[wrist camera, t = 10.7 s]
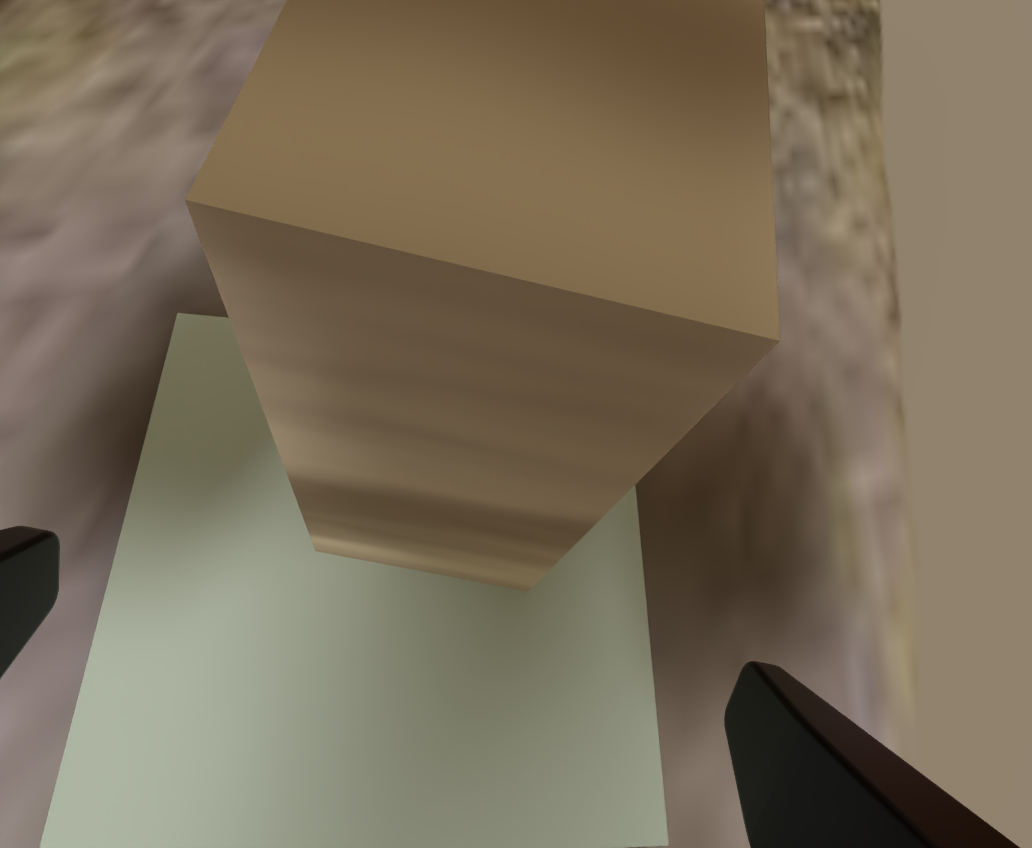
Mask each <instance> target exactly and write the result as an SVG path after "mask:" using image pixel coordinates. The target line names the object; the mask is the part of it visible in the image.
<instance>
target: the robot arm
mask: <svg viewBox="0 0 1032 848" xmlns="http://www.w3.org/2000/svg"><path fill="white" fill-rule="evenodd" d="M59 559H60V543H59V539H58V536H57V535H56V534H55V533H54V532H52V531H47V530H42V529H37V528H31V527H26V526H16V527H11V528H7V529H3V530H0V679H1V677H2V676H3V675H4V673H5V672H6V671H7V669H8V668H9V667H10V665H11V664H12V662H13V661H14V660H15V658H16V657H17V656H18V654H19V653H20V652H21V650H22V649H23V648H24V646H25V645H26V643H27V642H28V641H29V639H30V638H31V637H32V635H33V634H34V633H35V631H36V630H37V629H38V627H39V626H40V624H41V623H42V622H43V620H44V619H45V618H46V616H47V615H48V614H49V612H50V611H51V609H52V608H53V606H54V604H55V601H56V599H57V595H58V591H59ZM724 722H725V731H726V736H727V740H728V745H729V750H730V755H731V760H732V765H733V770H734V775H735V779H736V784H737V789H738V794H739V799H740V804H741V809H742V813H743V818H744V823H745V827H746V831H747V836H748V840H749V843H750V847H751V848H1020V847H1018V846H1017V845H1016V844H1014V843H1013V842H1012V841H1010V840H1009V839H1008V838H1006V837H1005V836H1004V835H1002V834H1001V833H1000V832H998V831H997V830H996V829H994V828H993V827H992V826H990V825H989V824H988V823H986V822H985V821H984V820H982V819H981V818H980V817H978V816H977V815H976V814H974V813H973V812H972V811H970V810H969V809H968V808H967V807H965V806H964V805H963V804H961V803H960V802H958V801H957V800H956V799H955V798H953V797H952V796H951V795H949V794H948V793H947V792H945V791H944V790H942V789H941V788H940V787H938V786H937V785H936V784H935V783H933V782H932V781H930V780H929V779H928V778H926V777H925V776H924V775H923V774H921V773H920V772H919V771H917V770H916V769H915V768H913V767H912V766H911V765H909V764H908V763H907V762H905V761H904V760H903V759H901V758H900V757H899V756H897V755H896V754H895V753H893V752H892V751H891V750H889V749H888V748H887V747H885V746H884V745H883V744H882V743H880V742H879V741H878V740H876V739H875V738H874V737H872V736H871V735H870V734H868V733H867V732H866V731H864V730H863V729H862V728H860V727H859V726H858V725H856V724H855V723H854V722H852V721H851V720H850V719H848V718H847V717H846V716H844V715H843V714H842V713H840V712H839V711H838V710H836V709H835V708H834V707H832V706H831V705H830V704H828V703H827V702H826V701H824V700H823V699H822V698H820V697H819V696H818V695H816V694H815V693H814V692H812V691H811V690H810V689H808V688H807V687H806V686H804V685H803V684H802V683H800V682H799V681H798V680H796V679H795V678H794V677H792V676H791V675H790V674H789V673H787V672H786V671H785V670H783V669H782V668H780V667H779V666H776V665H772V664H766V663H761V662H755V661H751V662H748V663H746V664H745V665H744V667H743V668H742V670H741V672H740V675H739V677H738V680H737V682H736V685H735V687H734V690H733V692H732V694H731V697H730V699H729V702H728V704H727V707H726V711H725V718H724Z"/></svg>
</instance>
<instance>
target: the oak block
mask: <svg viewBox="0 0 1032 848" xmlns="http://www.w3.org/2000/svg"><path fill="white" fill-rule="evenodd" d="M185 201H186V204H187V207H188V209H189V212H190V215H191V217H192V220H193V223H194V226H195V228H196V231H197V234H198V236H199V239H200V242H201V244H202V247H203V250H204V252H205V255H206V258H207V261H208V263H209V266H210V269H211V271H212V274H213V277H214V279H215V282H216V285H217V287H218V290H219V293H220V296H221V298H222V301H223V304H224V306H225V309H226V312H227V314H228V317H229V320H230V322H231V325H232V328H233V331H234V333H235V336H236V339H237V341H238V344H239V347H240V349H241V352H242V355H243V357H244V360H245V363H246V366H247V368H248V371H249V374H250V376H251V379H252V382H253V384H254V387H255V390H256V392H257V395H258V398H259V401H260V403H261V406H262V409H263V411H264V414H265V417H266V419H267V422H268V425H269V427H270V430H271V433H272V436H273V438H274V441H275V444H276V446H277V449H278V452H279V454H280V457H281V460H282V462H283V465H284V468H285V470H286V473H287V476H288V479H289V481H290V484H291V487H292V489H293V492H294V495H295V497H296V500H297V503H298V505H299V508H300V511H301V514H302V516H303V519H304V522H305V524H306V527H307V530H308V532H309V535H310V538H311V540H312V543H313V546H314V549H315V551H317V552H323V553H328V554H333V555H338V556H344V557H349V558H354V559H360V560H365V561H370V562H376V563H381V564H386V565H391V566H397V567H402V568H407V569H413V570H418V571H423V572H428V573H434V574H439V575H444V576H450V577H455V578H460V579H465V580H471V581H476V582H481V583H487V584H492V585H497V586H502V587H508V588H513V589H518V590H524V591H529V590H530V589H531V588H532V587H533V586H534V585H535V584H536V583H537V582H538V581H539V580H540V579H541V578H542V577H543V576H544V575H545V574H546V573H547V572H548V571H549V570H550V569H551V568H552V567H553V566H554V565H555V564H556V563H557V562H558V561H559V560H560V559H561V558H562V557H563V556H564V555H565V554H566V553H567V552H568V551H569V550H570V549H571V548H572V547H573V546H574V545H575V544H576V543H577V542H578V541H579V540H580V539H581V538H582V537H583V536H584V535H585V534H586V533H587V532H588V531H589V530H590V529H591V528H592V527H593V526H594V525H595V524H596V523H597V522H598V521H599V520H600V519H601V518H602V517H603V516H604V515H605V514H606V513H607V512H609V511H610V510H611V509H612V508H613V507H614V506H615V505H616V504H617V503H618V502H619V501H620V500H621V499H622V498H623V497H624V496H625V495H626V494H627V493H628V492H629V491H630V490H631V489H632V488H633V487H634V486H635V485H636V484H637V483H638V482H639V481H640V480H641V479H642V478H643V477H644V476H645V475H646V474H647V473H648V472H649V471H650V470H651V469H652V468H653V467H654V466H655V465H656V464H657V463H658V462H659V461H660V460H661V459H662V458H663V457H664V456H665V455H666V454H667V453H668V452H669V451H670V450H671V449H672V448H673V447H674V446H675V445H676V444H677V443H678V442H679V441H680V440H681V439H682V438H683V437H684V436H685V435H686V434H687V433H688V432H689V431H690V430H691V429H692V428H693V427H694V426H695V425H696V424H697V423H698V422H699V421H700V420H701V419H702V418H703V417H704V416H705V415H706V414H707V413H708V412H709V411H710V410H711V409H712V408H713V407H714V406H715V405H716V404H717V403H718V402H719V401H720V400H721V399H722V398H723V397H724V396H725V395H726V394H727V393H728V392H729V391H730V390H731V389H732V388H733V387H734V386H735V385H736V384H737V383H738V382H739V381H740V380H741V379H742V378H743V377H744V376H745V375H746V374H747V373H748V372H749V371H750V370H751V369H752V368H753V367H754V366H755V365H756V364H757V363H758V362H759V361H760V360H761V359H762V358H763V357H764V356H765V355H766V354H767V353H768V352H769V351H770V350H771V349H772V348H773V347H774V346H775V345H776V344H777V343H778V342H779V341H780V333H779V311H778V290H777V268H776V246H775V224H774V203H773V181H772V159H771V137H770V115H769V94H768V72H767V50H766V28H765V6H764V0H287V1H286V3H285V5H284V7H283V9H282V11H281V13H280V15H279V17H278V19H277V21H276V23H275V25H274V27H273V29H272V31H271V33H270V35H269V37H268V39H267V41H266V42H265V44H264V46H263V48H262V50H261V52H260V54H259V56H258V58H257V60H256V62H255V64H254V66H253V68H252V70H251V72H250V74H249V76H248V78H247V80H246V82H245V83H244V85H243V87H242V89H241V91H240V93H239V95H238V97H237V99H236V101H235V103H234V105H233V107H232V109H231V111H230V113H229V115H228V117H227V119H226V121H225V123H224V125H223V126H222V128H221V130H220V132H219V134H218V136H217V138H216V140H215V142H214V144H213V146H212V148H211V150H210V152H209V154H208V156H207V158H206V160H205V162H204V164H203V166H202V168H201V169H200V171H199V173H198V175H197V177H196V179H195V181H194V183H193V185H192V187H191V189H190V191H189V193H188V195H187V197H186V199H185Z"/></svg>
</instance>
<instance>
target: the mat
mask: <svg viewBox="0 0 1032 848" xmlns="http://www.w3.org/2000/svg"><path fill="white" fill-rule="evenodd" d="M647 846H669V843H668V832H667V821H666V810H665V799H664V789H663V778H662V767H661V756H660V745H659V734H658V724H657V713H656V702H655V691H654V680H653V669H652V659H651V648H650V637H649V626H648V615H647V604H646V594H645V583H644V572H643V561H642V550H641V539H640V529H639V518H638V507H637V496H636V485H635V486H634V487H633V488H632V489H631V490H630V491H629V492H628V493H627V494H626V495H625V496H624V497H623V498H622V499H621V500H620V501H619V502H618V503H617V504H616V505H615V506H614V507H613V508H612V509H611V510H610V511H609V512H607V513H606V514H605V515H604V516H603V517H602V518H601V519H600V520H599V521H598V522H597V523H596V524H595V525H594V526H593V527H592V528H591V529H590V530H589V531H588V532H587V533H586V534H585V535H584V536H583V537H582V538H581V539H580V540H579V541H578V542H577V543H576V544H575V545H574V546H573V547H572V548H571V549H570V550H569V551H568V552H567V553H566V554H565V555H564V556H563V557H562V558H561V559H560V560H559V561H558V562H557V563H556V564H555V565H554V566H553V567H552V568H551V569H550V570H549V571H548V572H547V573H546V574H545V575H544V576H543V577H542V578H541V579H540V580H539V581H538V582H537V583H536V584H535V585H534V586H533V587H532V588H531V589H530V590H529V591H524V590H518V589H513V588H508V587H502V586H497V585H492V584H487V583H481V582H476V581H471V580H465V579H460V578H455V577H450V576H444V575H439V574H434V573H428V572H423V571H418V570H413V569H407V568H402V567H397V566H391V565H386V564H381V563H376V562H370V561H365V560H360V559H354V558H349V557H344V556H338V555H333V554H328V553H323V552H317V551H315V549H314V546H313V543H312V540H311V538H310V535H309V532H308V530H307V527H306V524H305V522H304V519H303V516H302V514H301V511H300V508H299V505H298V503H297V500H296V497H295V495H294V492H293V489H292V487H291V484H290V481H289V479H288V476H287V473H286V470H285V468H284V465H283V462H282V460H281V457H280V454H279V452H278V449H277V446H276V444H275V441H274V438H273V436H272V433H271V430H270V427H269V425H268V422H267V419H266V417H265V414H264V411H263V409H262V406H261V403H260V401H259V398H258V395H257V392H256V390H255V387H254V384H253V382H252V379H251V376H250V374H249V371H248V368H247V366H246V363H245V360H244V357H243V355H242V352H241V349H240V347H239V344H238V341H237V339H236V336H235V333H234V331H233V328H232V325H231V322H230V320H229V318H228V317H217V316H207V315H196V314H185V313H177V317H176V321H175V324H174V328H173V332H172V336H171V340H170V344H169V348H168V352H167V355H166V359H165V363H164V367H163V371H162V375H161V379H160V383H159V386H158V390H157V394H156V398H155V402H154V406H153V410H152V414H151V417H150V421H149V425H148V429H147V433H146V437H145V441H144V445H143V448H142V452H141V456H140V460H139V464H138V468H137V472H136V476H135V479H134V483H133V487H132V491H131V495H130V499H129V503H128V507H127V510H126V514H125V518H124V522H123V526H122V530H121V534H120V538H119V542H118V545H117V549H116V553H115V557H114V561H113V565H112V569H111V573H110V576H109V580H108V584H107V588H106V592H105V596H104V600H103V604H102V607H101V611H100V615H99V619H98V623H97V627H96V631H95V635H94V638H93V642H92V646H91V650H90V654H89V658H88V662H87V666H86V669H85V673H84V677H83V681H82V685H81V689H80V693H79V697H78V700H77V704H76V708H75V712H74V716H73V720H72V724H71V728H70V731H69V735H68V739H67V743H66V747H65V751H64V755H63V759H62V762H61V766H60V770H59V774H58V778H57V782H56V786H55V790H54V794H53V797H52V801H51V805H50V809H49V813H48V817H47V821H46V825H45V828H44V832H43V836H42V840H41V844H40V848H622V847H647Z"/></svg>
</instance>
